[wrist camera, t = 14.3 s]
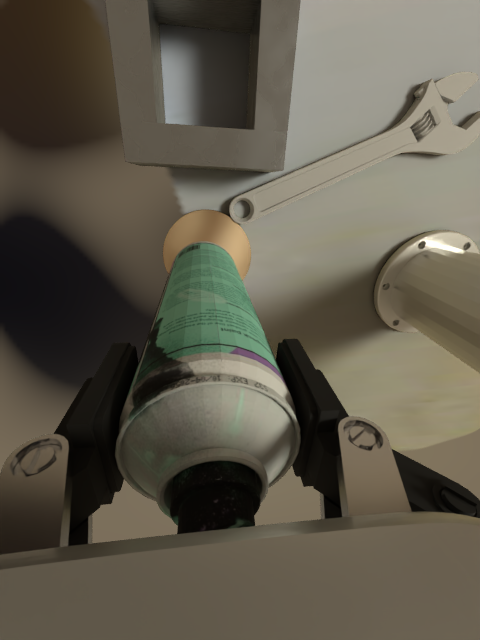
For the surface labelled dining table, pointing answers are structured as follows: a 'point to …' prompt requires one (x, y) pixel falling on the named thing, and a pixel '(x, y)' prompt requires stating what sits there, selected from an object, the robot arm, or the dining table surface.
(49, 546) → the robot arm
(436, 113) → the adjustable wrench
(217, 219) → the coaster
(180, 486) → the spray can
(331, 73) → the dining table surface
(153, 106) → the block
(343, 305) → the dining table surface
